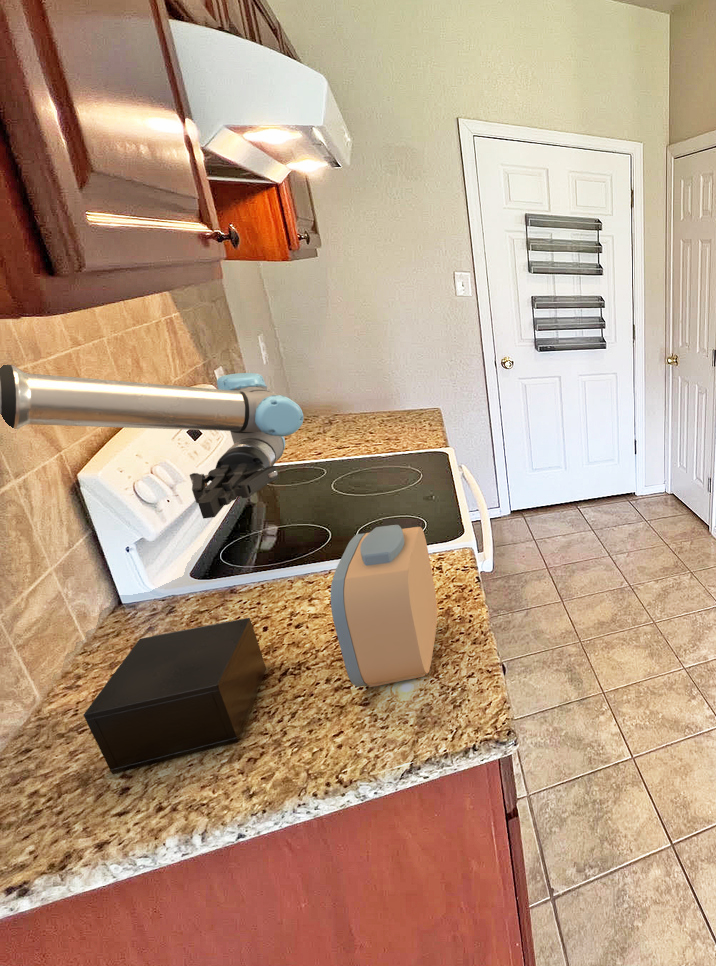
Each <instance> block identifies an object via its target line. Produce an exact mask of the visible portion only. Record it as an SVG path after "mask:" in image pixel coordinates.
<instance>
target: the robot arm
mask: <svg viewBox="0 0 716 966" xmlns="http://www.w3.org/2000/svg"><path fill="white" fill-rule="evenodd" d="M14 377H15V379H14ZM216 385H217V388H210V387H209V388H207V387H196V386H186V385H185V386H183V385H174V384H173V385H172V384H159V383H148V382H137V381H125V380H124V381H123V380H110V379H99V378H88V377H76V376H75V377H74V376H63V375H54V374H53V375H51V374H39V373H27V372H25V371H23V370H22V369H20V368H19V367H17V366H15V364H7V365H3V366H2V367H1V368H0V414H1V415H2V417H3V419H4V420H5V422H6V423H7V424H8V425H9V426H11V427H12V428H14V429H17V430H19V429H20V428H22V427H24V426H27V425H33V426H37V425H38V426H64V427H65V426H67V427H95V428H96V427H98V428H125V429H126V428H127V429H128V428H129V429H158V430H160V429H161V430H188V431H189V430H191V431H218V432H219V431H221V432H223V431H224V432H230V436H231V439H232V442H233V444H232V445H231V446H230V448H228V449H227V451H225V453H224V454H222V455H221V456H220V457H219V459H218V460H217V462H216V465H215V468H214V469H211V470H209V471H208V473H207V474H205V473H198V472H192V473H190V474H189V479H190V481H191V485H192V487H191V491H192V494H193V497H194V500H195V503H196V504H197V505H198V507H199V510H200V513H201V516H202V519H210V518H215V517H217V515H218V514H220V512H221V510H222V509H223V508H224V507H225V506H228V505H230V504H231V503H232V502H233V501H236V500H237V499H238V498H239V497H241V499H248V498H250V497H251V496H253V495H254V494H256V493H257V492H258V491H260V490H261V489H263V488H264V487H265V486H268V484H270V483H272V482H274V481H277V480H279V478H280V477H279V474H278V470H277V465H275V464H276V463H277V462H278V460H280V458H281V457H282V456H283V453H284V451H285V448H286V438H285V437H288V436H291V435H293V434H295V433H296V432H298V431H299V429H300V428H301V427H302V425H303V422H304V412H303V410H302V408H301V406H300V405H299V404H298V403H297V402H295V401H294V400H292V399H291V398H289V397H287V396H285V395H282V394H281V395H280V394H278V393H275V392H272V391H269V390H268V386H267V384H266V382H265V379H264V376H262V375H261V374H260V373H256V372H238V373H229V374H225V375H221V376H219V377H217V380H216ZM208 483H209V484H208Z"/></svg>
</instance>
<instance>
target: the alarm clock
mask: <svg viewBox="0 0 716 966" xmlns="http://www.w3.org/2000/svg"><path fill="white" fill-rule="evenodd" d="M330 585H331V586H330V608H331V615H332V620H333V625H334V630H335V632H336V636H337V640H338V644H339V648H340V651H341V655H342V659H343V663H344V666H345V670H346V673H347V677H348V678H349V680H350V683H351V684H352V685H354V686H355V687H356V688H360V687H366V686H368V688H372V687H373V688H374V687H379V686H382V685H388V684H393V683H398V682H402V681H407V680H413V679H418V678H423V677H425V675H426V674H428V673H430V669H431V665H432V660H433V654H434V647H435V640H436V634H437V625H438V624H437V623H438V606H437V605H438V604H437V595H436V588H435V582H434V577H433V571H432V566H431V559H430V555H429V550H428V544H427V540H426V535H425V532H424V530H423V528H422V527H421V526H414V527H413V526H412V527H407V528H402V527H401V526H400V525H399V524H392V525H390V524H389V525H382V526H376V527H375V528H373V529H372V530H371V531H370V532H365V533H356V534H355V535H354V536H352V538H351V539H350V540H349V542H348V544H347V545H346V548H345V549H344V552H343V554H342V555H341V558H340V560H339V563H338V564H337V566H336V568H335V570H334V573H333V577H332V579H331V584H330Z"/></svg>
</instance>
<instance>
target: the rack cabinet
mask: <svg viewBox="0 0 716 966" xmlns="http://www.w3.org/2000/svg"><path fill="white" fill-rule="evenodd" d="M246 618H247V619H244V618H241V619H242V620H239V619H236V620H237V621H234V620H230V621H231V622H228V621H225V622H226V623H223V622H220V623H221V624H218V623H215V624H216V625H213V624H209V625H210V626H207V625H204V626H205V627H202V626H199V627H200V628H197V627H193V628H194V629H191V628H188V629H189V630H186V629H183V630H184V631H181V630H177V631H178V632H175V631H172V632H173V633H170V632H167V633H168V634H165V633H162V634H163V635H159V634H156V635H157V636H154V635H152V636H148V637H143V638H139V639H138V640H137V642H136V643H135V644H134V646H133V647H132V649H131V650H130V651H129V653H128V654H127V655H126V657H125V658H124V659H123V660H122V662H121V663H120V664H119V666H118V667H117V669H116V670H115V671H114V673H113V674H112V676H111V677H110V678H109V679H108V681H107V682H106V683H105V685H104V686H103V688H102V689H101V690H100V692H99V693H98V694H97V696H96V697H95V698H94V699H93V701H92V702H91V704H90V705H89V707H87V709H86V710H85V712H84V713H83V717H84V720H85V722H86V724H87V726H88V728H89V730H90V732H91V734H92V736H93V738H94V741H95V743H96V745H97V746H98V749H99V750H100V752H101V754H102V756H103V758H104V761H105V763H106V765H107V767H108V769H109V770H110V773H111V775H117V774H121V773H125V772H128V771H133V770H137V769H140V768H144V767H147V766H151V765H155V764H159V763H163V762H167V761H170V760H175V759H179V758H183V757H186V756H190V755H193V754H198V753H201V752H206V751H209V750H213V749H217V748H221V747H225V746H229V745H232V744H236V743H240V742H239V741H240V740H241V737H242V734H243V732H244V728H245V726H246V723H247V721H248V718H249V716H250V714H251V711H252V708H253V706H254V704H255V703H254V702H255V700H256V698H257V695H258V693H259V690H260V687H261V685H262V683H263V680H264V677H265V676H266V675H265V674H266V673H267V666H266V663H265V659H264V656H263V654H262V650H261V647H260V644H259V641H258V637H257V635H256V633H255V629H254V625H253V623H252V620H251V617H246Z"/></svg>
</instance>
